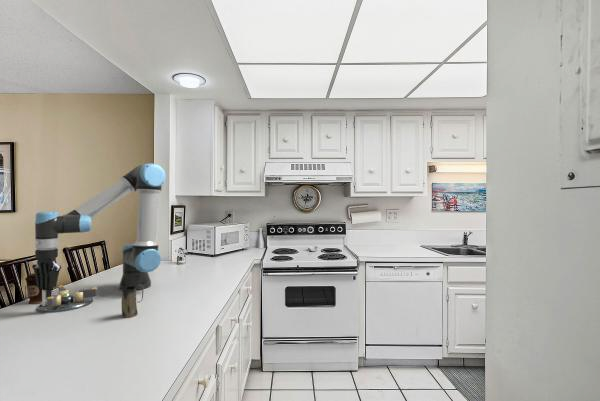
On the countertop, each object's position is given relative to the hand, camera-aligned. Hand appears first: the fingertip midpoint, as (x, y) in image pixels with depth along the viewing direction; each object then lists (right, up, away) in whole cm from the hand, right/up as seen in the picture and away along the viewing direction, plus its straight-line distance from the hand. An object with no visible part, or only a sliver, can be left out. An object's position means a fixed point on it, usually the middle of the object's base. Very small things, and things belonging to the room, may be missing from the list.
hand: (46, 304), depth 136 cm
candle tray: (+2, -3, +9) cm, 10 cm away
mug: (+39, -3, -5) cm, 39 cm away
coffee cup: (-14, -3, +13) cm, 20 cm away
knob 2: (-3, -2, +14) cm, 15 cm away
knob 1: (+2, -2, +2) cm, 3 cm away
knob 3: (+9, -1, +11) cm, 14 cm away
